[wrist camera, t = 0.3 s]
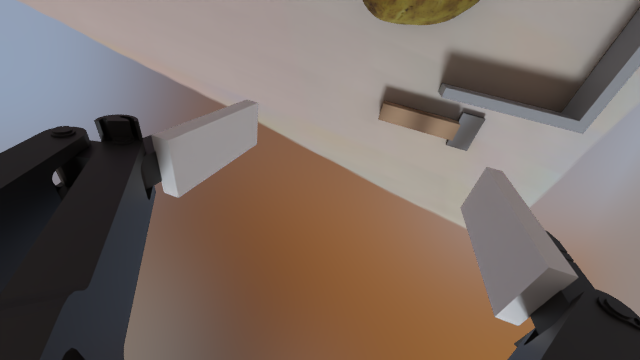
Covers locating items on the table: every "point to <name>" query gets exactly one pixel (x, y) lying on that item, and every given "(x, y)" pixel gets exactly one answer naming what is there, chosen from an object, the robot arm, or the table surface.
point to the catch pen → (589, 101)
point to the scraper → (434, 124)
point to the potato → (417, 10)
